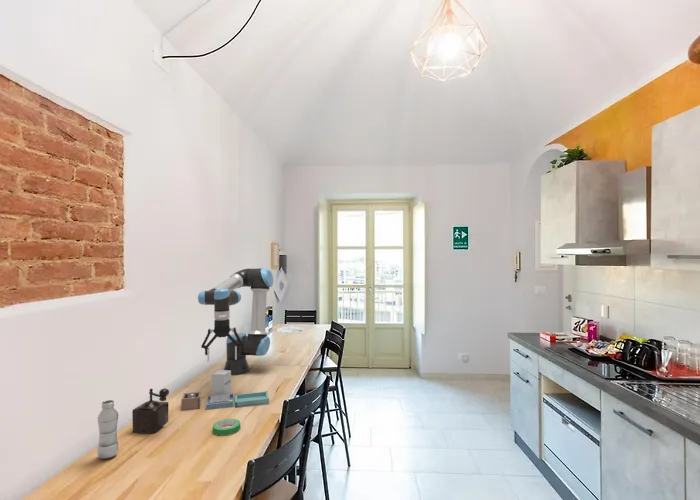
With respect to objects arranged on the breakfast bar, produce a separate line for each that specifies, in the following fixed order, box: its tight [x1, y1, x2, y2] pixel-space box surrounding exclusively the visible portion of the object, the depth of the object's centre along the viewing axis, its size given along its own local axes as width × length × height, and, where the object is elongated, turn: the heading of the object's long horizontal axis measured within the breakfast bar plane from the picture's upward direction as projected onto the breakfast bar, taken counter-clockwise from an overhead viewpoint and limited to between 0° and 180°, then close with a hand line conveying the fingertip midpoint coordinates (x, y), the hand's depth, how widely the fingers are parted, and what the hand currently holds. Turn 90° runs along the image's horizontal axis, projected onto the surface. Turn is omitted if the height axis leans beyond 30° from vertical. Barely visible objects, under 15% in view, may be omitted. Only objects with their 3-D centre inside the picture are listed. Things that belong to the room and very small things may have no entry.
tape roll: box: [212, 418, 241, 436], centre depth 165 cm, size 11×11×3 cm
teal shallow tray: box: [234, 390, 270, 409], centre depth 196 cm, size 11×16×2 cm
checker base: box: [204, 392, 235, 411], centre depth 192 cm, size 13×13×4 cm
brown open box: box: [180, 391, 202, 411], centre depth 189 cm, size 8×8×6 cm
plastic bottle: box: [96, 399, 119, 460], centre depth 144 cm, size 6×7×20 cm
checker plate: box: [210, 394, 230, 404], centre depth 192 cm, size 9×9×1 cm
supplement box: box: [210, 369, 232, 395], centre depth 204 cm, size 7×7×13 cm
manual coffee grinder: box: [131, 388, 170, 434], centre depth 167 cm, size 16×11×18 cm
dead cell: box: [187, 392, 196, 398], centre depth 189 cm, size 4×4×6 cm
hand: (222, 360), depth 204 cm, fingers open, 13 cm apart
